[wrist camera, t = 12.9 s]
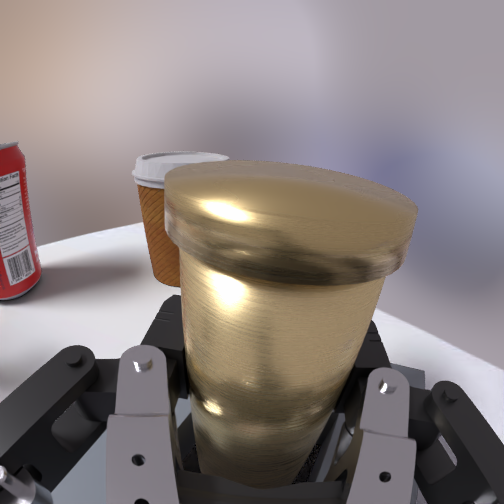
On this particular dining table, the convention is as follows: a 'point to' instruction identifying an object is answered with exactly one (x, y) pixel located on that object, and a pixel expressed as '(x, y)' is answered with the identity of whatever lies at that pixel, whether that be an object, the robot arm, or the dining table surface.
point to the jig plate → (94, 461)
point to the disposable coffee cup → (162, 207)
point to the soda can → (16, 227)
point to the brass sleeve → (275, 302)
